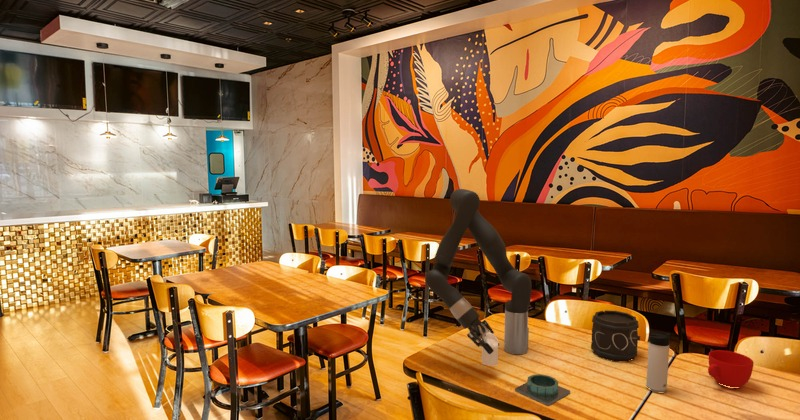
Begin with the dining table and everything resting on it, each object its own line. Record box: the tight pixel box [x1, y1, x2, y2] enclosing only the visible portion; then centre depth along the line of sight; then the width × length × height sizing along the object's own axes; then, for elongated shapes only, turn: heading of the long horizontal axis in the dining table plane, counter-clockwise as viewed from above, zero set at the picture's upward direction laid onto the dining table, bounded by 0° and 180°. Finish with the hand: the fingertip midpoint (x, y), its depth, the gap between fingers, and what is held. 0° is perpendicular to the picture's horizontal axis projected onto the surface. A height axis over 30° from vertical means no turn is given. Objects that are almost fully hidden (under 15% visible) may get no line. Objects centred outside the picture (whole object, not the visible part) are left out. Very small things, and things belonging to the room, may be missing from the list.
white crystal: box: [481, 331, 499, 367], centre depth 177 cm, size 6×12×6 cm
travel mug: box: [645, 331, 672, 393], centre depth 166 cm, size 6×7×20 cm
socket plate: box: [514, 374, 571, 407], centre depth 165 cm, size 13×13×4 cm
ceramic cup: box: [707, 349, 754, 388], centre depth 169 cm, size 13×17×10 cm
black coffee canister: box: [590, 309, 641, 362], centre depth 196 cm, size 18×18×16 cm
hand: (494, 349), depth 176 cm, fingers closed on white crystal, 5 cm apart
